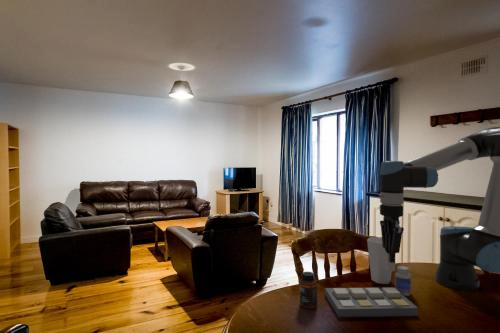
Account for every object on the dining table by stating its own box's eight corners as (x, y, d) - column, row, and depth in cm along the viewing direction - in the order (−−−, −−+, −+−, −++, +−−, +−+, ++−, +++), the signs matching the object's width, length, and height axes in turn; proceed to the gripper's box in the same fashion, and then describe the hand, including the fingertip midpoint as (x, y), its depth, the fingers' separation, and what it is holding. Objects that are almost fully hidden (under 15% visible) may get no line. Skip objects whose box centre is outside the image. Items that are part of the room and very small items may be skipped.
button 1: (394, 294, 112) (394, 287, 112) (400, 299, 107) (400, 292, 107) (382, 294, 112) (382, 287, 112) (387, 299, 107) (387, 292, 107)
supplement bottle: (318, 303, 109) (318, 271, 109) (316, 310, 103) (316, 277, 103) (301, 300, 111) (301, 269, 111) (298, 308, 105) (298, 275, 105)
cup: (371, 274, 136) (372, 235, 136) (396, 279, 130) (397, 239, 130) (364, 282, 127) (364, 241, 127) (391, 288, 121) (391, 245, 121)
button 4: (344, 294, 112) (344, 288, 111) (349, 300, 107) (349, 293, 107) (332, 294, 111) (332, 288, 111) (336, 300, 107) (336, 293, 107)
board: (393, 294, 116) (393, 286, 116) (417, 315, 100) (417, 307, 100) (325, 295, 115) (325, 287, 115) (338, 316, 99) (338, 308, 99)
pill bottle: (412, 296, 114) (413, 270, 113) (397, 295, 115) (397, 269, 114) (408, 290, 119) (408, 265, 119) (393, 289, 120) (393, 264, 120)
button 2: (377, 294, 112) (377, 287, 112) (383, 299, 107) (383, 292, 107) (365, 294, 112) (365, 287, 112) (370, 299, 107) (370, 293, 107)
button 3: (361, 294, 112) (361, 287, 112) (366, 299, 107) (366, 293, 107) (349, 294, 112) (349, 288, 111) (353, 300, 107) (353, 293, 107)
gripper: (373, 201, 115) (372, 264, 116) (389, 207, 102) (388, 277, 103) (393, 201, 115) (391, 264, 116) (411, 207, 102) (410, 277, 103)
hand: (390, 270), depth 109 cm, fingers closed
